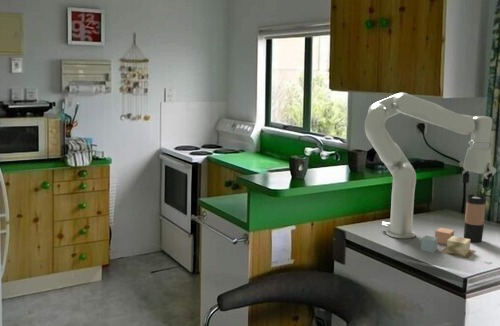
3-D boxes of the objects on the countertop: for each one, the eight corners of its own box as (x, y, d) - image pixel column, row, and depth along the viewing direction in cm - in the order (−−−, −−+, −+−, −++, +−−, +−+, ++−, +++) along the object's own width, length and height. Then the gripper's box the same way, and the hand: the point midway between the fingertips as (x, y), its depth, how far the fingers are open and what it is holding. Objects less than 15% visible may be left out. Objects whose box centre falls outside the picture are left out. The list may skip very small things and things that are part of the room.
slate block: (420, 252, 231) (421, 238, 230) (424, 249, 235) (425, 235, 234) (432, 255, 229) (433, 240, 227) (437, 251, 233) (438, 237, 231)
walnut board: (439, 254, 229) (439, 252, 229) (448, 247, 238) (448, 245, 237) (467, 260, 223) (467, 258, 222) (475, 253, 231) (475, 250, 231)
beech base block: (446, 252, 229) (447, 240, 228) (451, 247, 235) (452, 235, 234) (464, 255, 225) (465, 243, 224) (469, 251, 231) (470, 239, 230)
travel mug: (472, 246, 240) (476, 199, 236) (459, 240, 247) (462, 195, 243) (486, 243, 243) (490, 197, 239) (472, 238, 250) (476, 193, 246)
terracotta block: (434, 244, 242) (435, 230, 240) (439, 240, 246) (440, 227, 245) (448, 247, 238) (449, 233, 237) (453, 243, 243) (454, 230, 242)
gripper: (456, 143, 247) (452, 181, 250) (492, 149, 233) (488, 190, 236) (467, 142, 251) (463, 180, 254) (503, 148, 237) (499, 188, 240)
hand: (475, 185), depth 245 cm, fingers open, 9 cm apart
